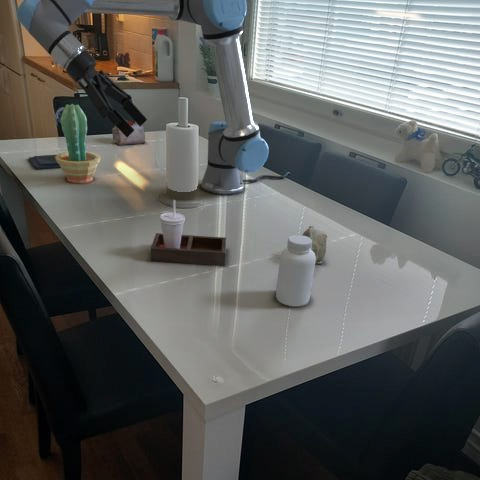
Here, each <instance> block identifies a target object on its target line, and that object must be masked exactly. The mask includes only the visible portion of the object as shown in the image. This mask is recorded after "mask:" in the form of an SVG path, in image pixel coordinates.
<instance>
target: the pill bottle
mask: <svg viewBox="0 0 480 480" xmlns="http://www.w3.org/2000/svg"><path fill="white" fill-rule="evenodd" d="M286 245H287V246H286V247H285V248H283V249H282V250H281V252H280V255H279V262H278V263H279V264H278V272H277V282H276V291H275V298H276V300H277V301H278V302H279V303H280V304H282V305H285V306H288V307H303V306H306V305H307V304H308V303H309V301H310V299H311V293H312V286H313V280H314V274H315V267H316V263H315V261H316V256H315V253H314V252H313V251H312V250H311V247H312V240H311V239H310V238H309V237H307V236H303V235H302V234H294V235H290V236H289V237H288V238H287V244H286Z"/></svg>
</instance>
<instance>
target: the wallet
mask: <svg viewBox="0 0 480 480" xmlns="http://www.w3.org/2000/svg"><path fill="white" fill-rule="evenodd" d="M56 155H57V154H44V155H34V156H28V160H29V162H30V163H31V165H32V167H33V168H34V170H51V169H61V167H60V165H59V164H58V163H57V161H56V159H55V156H56Z"/></svg>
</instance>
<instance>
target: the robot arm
mask: <svg viewBox="0 0 480 480" xmlns="http://www.w3.org/2000/svg"><path fill="white" fill-rule="evenodd" d="M247 4H248V3H247V0H22V1H21V3H20V4H19V5H18V7H17V10H16V19H17V21H19V23H20V24H21V25H22V26H23V28H24V29H25V30H26V31H27V32H28V33H29V35H30V36H31V37H32V38H33V39H34V40H35V42H37V43H38V44H39V45H40V46H41V47H42V49H44V50H45V51H46V52H47V53H48V54H49V56H50V57H51V58H52V59H53V61H54V63H55V65H57V64H58V66H60V67H61V69H64V70H65V73H66V74H67V76H69V78H70V79H71V80H73V82H74V83H77V84H78V85H79V87H80V88H81V89H82V90H83V92H85V94H86V96H87V97H88V98H89V100H90V102H91V103H92V105H93V106H94V107H95V109H96V110H97V112H98V114H99V115H100V116H101V117H102V119H104V120H105V119H106V118H108V119H109V120H110V121H111V122H112V124H113V125H114V126H115V125H116V127H117V128H118V129H119V130H120V131H121V132H122V133H123V134H124V135H125V136H126V137H128V136H129V135H130V134H131V133H132V132H133V131H134V128H133V127H132V126H131V125H130V124H129V123H128V122H129V121H128V120H127V119H125V117H123V115H122V114H121V113H120V111H118V110H117V109H116V108H113V105H112V103H111V101H110V100H109V98H108V97H110V98H111V99H112V100H114V101H115V102H117V103H118V104H120V105H121V106H122V109H123V110H124V111H125V112H126V114H128V115H129V117H131V119H132V120H133V121H134V122H135V124H136V123H137V124H138V125H139V126H141V125H144V124H145V123H146V122H147V120H148V119H147V117H146V116H145V115H144V114H143V113H142V112H141V110H140V109H139V108H138V107H137V106H136V105H135V104H134V103H133V102H132V100H131V99H132V98H133V97H132V96H131V94H129V93H128V92H126V91H125V90H124V89H123V88H122V87H120V85H118V84H117V83H116V82H115V81H114V80H113V79H111V77H109V76H108V75H107V74H106V73H105V72H104V71H103V70H102V69H100V70H99V71H98V70H96V69H95V68H96V66H97V64H98V63H97V60H96V58H95V57H94V56H93V55H92V54H91V53H90V52H89V51H88V50H86V49H85V46H84V45H83V43H81V42H80V40H79V39H78V38H77V37H76V36H75V35H74V34H73V32H71V31H70V30H69V27H71V26H72V25H73V23H74V22H76V21H77V20H78V19H79V18H80V17H81V16H82V15H83V14H105V15H134V16H157V17H159V16H161V17H168V18H169V19H170V20H171V21H181V22H187V23H190V24H194V25H198V26H200V28H201V29H200V30H201V33H202V38H203V40H204V41H205V42H206V43H208V44H209V46H210V50H211V55H212V60H213V65H214V71H215V77H216V81H217V86H218V90H219V96H220V100H221V106H222V110H223V111H222V112H223V115H224V119H225V121H213V122H211V123H210V124H209V126H208V132H207V135H208V137H207V138H208V139H207V166H206V169H205V172H204V174H203V178H202V180H201V188H202V189H203V190H204V191H205V192H208V193H211V194H215V195H216V194H217V195H236V194H239V193H241V192H243V191H244V183H255V182H258V181H259V180H260V179H264V178H265V179H266V178H267V179H268V178H269V179H279V180H280V179H284V178H286V177H287V176H292V174H291V173H290V171H286V172H285V174H284V175H269V174H263V175H262V174H261V175H259V176H258V177H256V178H253V179H252V178H251V179H249V178H247V179H243V176H242V172H243V173H245V174H246V173H247V174H253V173H256V172H257V171H259V170H261V169H262V168H263V167H264V165H265V163H266V162H267V160H268V158H269V152H270V150H269V144H268V143H267V142H266V140H265V139H264V138H262V137H261V131H260V127H259V126H260V125H259V124H258V122H255V121H254V119H253V112H252V106H251V101H250V96H249V95H250V94H249V89H248V83H247V76H246V72H245V71H246V70H245V65H244V64H245V63H244V57H243V52H242V47H241V40H240V39H241V36H242V34H243V32H244V26H243V23H244V20H245V17H246V15H247V9H248V8H247V7H248V5H247ZM126 120H127V121H128V122H127V121H126Z"/></svg>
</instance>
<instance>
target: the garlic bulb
mask: <svg viewBox="0 0 480 480" xmlns="http://www.w3.org/2000/svg"><path fill="white" fill-rule="evenodd" d="M301 235H303V236H307V237H309V238H310V239H311V240H312V247H311V250H312V251H313V252H314V253H315V256H316V261H315V264H323V260H324V259H325V257H326V254H327V253H326V252H327V238H328V235H327V233H326V232H324V231H323V230H322V229H320V228H317V227H315V226H314V225H313V226H312V225H309V227H308V228H307V229H306V230H305V231H304V232H303V233H302V234H301Z"/></svg>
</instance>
